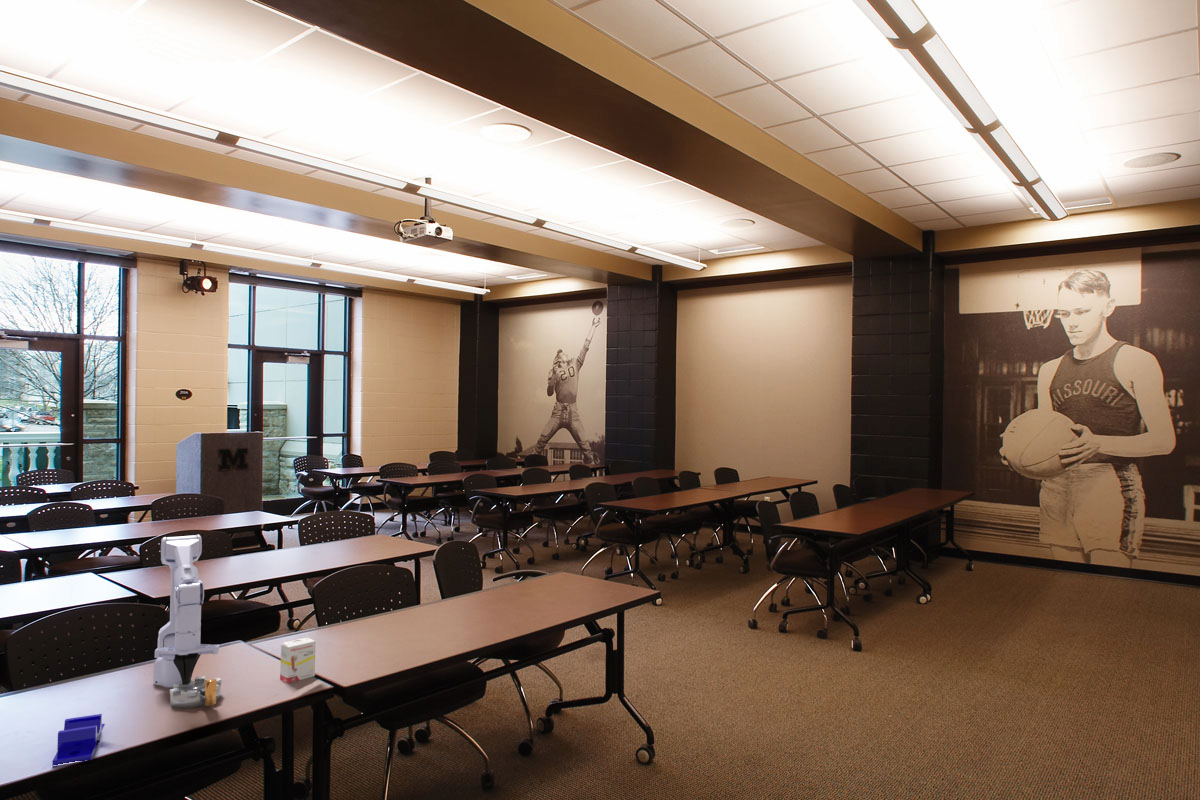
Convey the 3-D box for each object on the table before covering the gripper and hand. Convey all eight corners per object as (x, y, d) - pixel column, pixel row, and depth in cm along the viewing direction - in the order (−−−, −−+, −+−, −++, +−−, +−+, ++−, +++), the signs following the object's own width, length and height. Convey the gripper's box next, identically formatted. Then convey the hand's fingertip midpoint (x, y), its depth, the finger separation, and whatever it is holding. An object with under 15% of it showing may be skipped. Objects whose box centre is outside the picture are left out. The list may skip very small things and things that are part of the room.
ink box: (286, 688, 206) (287, 646, 207) (279, 683, 210) (280, 643, 210) (315, 680, 213) (316, 640, 213) (307, 676, 216) (308, 636, 216)
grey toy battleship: (163, 699, 194) (163, 671, 194) (211, 687, 203) (211, 660, 203) (186, 718, 182) (187, 688, 182) (236, 704, 191) (237, 675, 192)
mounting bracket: (91, 762, 162) (92, 735, 163) (52, 768, 159) (53, 741, 159) (104, 730, 178) (105, 706, 179) (69, 736, 175) (69, 711, 175)
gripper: (150, 636, 179) (149, 691, 179) (214, 633, 182) (213, 686, 182) (160, 628, 186) (159, 681, 185) (222, 625, 189) (220, 676, 189)
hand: (186, 683), depth 184 cm, fingers closed
